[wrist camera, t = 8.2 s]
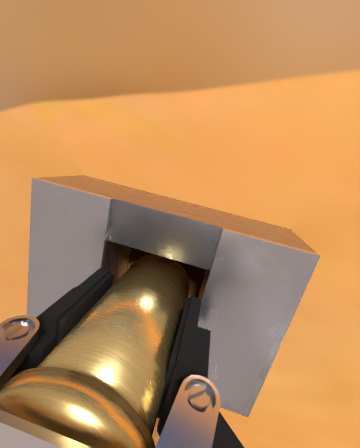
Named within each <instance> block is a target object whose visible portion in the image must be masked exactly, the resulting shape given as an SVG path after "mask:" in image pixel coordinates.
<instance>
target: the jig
mask: <svg viewBox="0 0 360 448" xmlns="http://www.w3.org/2000/svg"><path fill="white" fill-rule="evenodd" d="M131 247H132V248H135V249H139V250H142V251H145V252H149V253H152V254H156V255H159V256H162V257H166V258H169V259H173V260H176V261H180V262H183V263H186V264H190V265H193V266H197V267H200V268H203V269H206V270H205V273H204V277H203V280H202V284H201V287H200V291H199V294H198V297H197V298H199V299H202V301H201V308H200V314H199V321H198V327H201V328H204V329H207V330H210V331H211V336H210V351H209V367H208V380H210V381H211V382H212V383H213V384H214V385H215V387H216V388H217V390H218V392H219V396H220V407H222V408H224V409H227V410H230V411H233V412H235V413H238V414H241V415H244V416H246V417H248V416H249V414H250V412H251V410H252V407H253V405H254V403H255V401H256V398H257V396H258V394H259V392H260V390H261V387H262V385H263V383H264V381H265V378H266V376H267V374H268V372H269V369H270V367H271V365H272V363H273V360H274V358H275V356H276V354H277V351H278V349H279V347H280V345H281V343H282V340H283V338H284V336H285V334H286V331H287V329H288V327H289V325H290V322H291V320H292V318H293V316H294V313H295V311H296V309H297V307H298V304H299V302H300V300H301V298H302V295H303V293H304V291H305V289H306V287H307V284H308V282H309V280H310V278H311V275H312V273H313V271H314V269H315V266H316V264H317V262H318V260H319V257H320V255H318V254H317V253H316V252H315V251H314V250H313V249H312V248H311V247H309V246H308V245H307V244H306V243H305V242H304V241H303V240H301V239H300V238H299V237H298V236H297V235H296V234H295V233H293V232H292V231H291V230H290V229H286V228H282V227H279V226H275V225H271V224H267V223H263V222H259V221H256V220H252V219H248V218H244V217H240V216H236V215H233V214H229V213H225V212H221V211H217V210H213V209H210V208H206V207H202V206H198V205H194V204H191V203H187V202H183V201H179V200H175V199H171V198H168V197H164V196H160V195H156V194H152V193H148V192H145V191H141V190H137V189H133V188H129V187H125V186H122V185H118V184H114V183H110V182H106V181H102V180H99V179H95V178H91V177H87V176H63V177H44V178H32V192H31V218H30V245H29V272H28V298H27V316H32V317H35V318H36V317H37V316H39V315H40V314H41V313H42V312H44V311H45V310H46V309H47V308H49V307H50V306H51V305H52V304H54V303H55V302H56V301H57V300H58V299H60V298H61V297H62V296H63V295H65V294H66V293H67V292H68V291H70V290H71V289H72V288H74V287H77V286H78V285H80V284H81V283H82V282H83V281H85V280H86V279H87V278H88V277H89V276H91V275H92V274H93V273H94V272H96V271H97V270H98V269H99V268H103V269H106V270H109V271H111V274H113V283H112V286H113V285H114V284H115V282H116V281H117V280H118V279H119V278H120V277H121V276H122V275H123V274H124V273H125V272H126V271H127V268H128V263H129V257H130V251H131Z"/></svg>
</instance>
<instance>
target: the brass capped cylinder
mask: <svg viewBox="0 0 360 448" xmlns="http://www.w3.org/2000/svg"><path fill="white" fill-rule="evenodd" d="M189 290H190V284H189V279H188V276H187V274H186V272H185V270H184V269H183V267H182V266H181V265H180V264H179V263H178V262H176V261H175V260H173V259H169V258H166V257H162V256H159V255H156V254H149V255H145V256H143V257H140V258H139V259H137V260H136V261H135V262H134V263H133V264H132V265H131V266H130V267H129V268H128V270H127V271H126V272H125V273H124V274H123V275H122V276H121V277H120V278H119V279H118V280H117V281H116V282H115V284H114V285H113V286H112V287H111V288H110V289H109V290H108V291H107V292H106V293H105V294H104V295H103V296H102V298H101V299H100V300H99V301H98V302H97V303H96V304H95V305H94V306H93V307H92V308H91V309H90V310H89V312H88V313H87V314H86V315H85V316H84V317H83V318H82V319H81V320H80V321H79V322H78V323H77V324H76V326H75V327H74V328H73V329H72V330H71V331H70V332H69V333H68V334H67V335H66V336H65V337H64V338H63V340H62V341H61V342H60V343H59V344H58V345H57V346H56V347H55V348H54V349H53V350H52V351H51V352H50V353H49V355H48V356H47V357H46V358H45V359H44V360H43V361H42V362H41V363H40V364H39V365H38V366H37V367H36V368H30V369H27V370H24V371H22V372H20V373H18V374H16V375H15V376H13V377H12V378H11V379H10V380H9V381H8V382H7V383H6V384H5V385H4V386H3V387H2V388H1V389H0V410H2V411H4V412H7V413H9V414H12V415H14V416H16V417H19V418H21V419H24V420H26V421H29V422H31V423H33V424H36V425H38V426H41V427H43V428H46V429H48V430H50V431H53V432H55V433H58V434H60V435H63V436H65V437H67V438H70V439H72V440H75V441H77V442H79V443H82V444H84V445H87V446H89V447H91V448H155V444H154V441H153V438H152V434H153V430H154V426H155V422H156V419H157V415H158V411H159V407H160V403H161V399H162V395H163V391H164V386H165V377H166V373H167V369H168V366H169V362H170V358H171V355H172V351H173V347H174V343H175V340H176V336H177V332H178V328H179V325H180V321H181V317H182V313H183V310H184V306H185V303H186V299H187V298H188V295H189Z"/></svg>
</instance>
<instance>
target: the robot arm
mask: <svg viewBox="0 0 360 448" xmlns="http://www.w3.org/2000/svg"><path fill="white" fill-rule="evenodd" d="M112 283H113V274H111V271H109V270H106V269H103V268H99V269H98V270H97V271H96V272H94V273H93V274H92V275H91V276H89V277H88V278H87V279H86V280H85V281H83V282H82V283H81V284H80V285H78V286H77V287H74V288H72V289H71V290H70V291H68V292H67V293H66V294H65V295H63V296H62V297H61V298H60V299H58V300H57V301H56V302H55V303H54V304H52V305H51V306H50V307H49V308H47V309H46V310H45V311H44V312H42V313H41V314H40V315H39V316H37V317H36V318H35V317H32V316H26V315H22V316H16V317H12V318H9V319H7V320H5V321H3V322H2V323H1V324H0V389H1V388H2V387H3V386H4V385H5V384H6V383H7V382H8V381H9V380H10V379H11V378H12V377H13V376H15V375H16V374H18V373H20V372H22V371H24V370H27V369H30V368H36V367H37V366H38V365H39V364H40V363H41V362H42V361H43V360H44V359H45V358H46V357H47V356H48V355H49V353H50V352H51V351H52V350H53V349H54V348H55V347H56V346H57V345H58V344H59V343H60V342H61V341H62V340H63V338H64V337H65V336H66V335H67V334H68V333H69V332H70V331H71V330H72V329H73V328H74V327H75V326H76V324H77V323H78V322H79V321H80V320H81V319H82V318H83V317H84V316H85V315H86V314H87V313H88V312H89V310H90V309H91V308H92V307H93V306H94V305H95V304H96V303H97V302H98V301H99V300H100V299H101V298H102V296H103V295H104V294H105V293H106V292H107V291H108V290H109V289H110V288H111V287H112ZM201 301H202V299H199V298H196V297H193V296H191V299H190V298H187V299H186V303H185V306H184V310H183V313H182V317H181V321H180V325H179V328H178V332H177V336H176V340H175V343H174V347H173V351H172V355H171V358H170V362H169V366H168V369H167V373H166V377H165V386H164V391H163V395H162V399H161V403H160V407H159V411H158V415H157V418H160V419H159V423H158V427H157V429H158V430H157V432H158V434H159V436H160V438H159V440H158V442H157V445H156V447H155V448H244V447H243V445H242V444H241V442H240V441H239V440H238V438H237V437H236V435H235V434H234V432H233V431H232V429H231V428H230V426H229V425H228V424H227V422H226V421H225V419H224V418H223V416H222V415H221V413H220V412H219V409H220V396H219V392H218V390H217V388H216V387H215V385H214V384H213V383H212V382H211V381H210V380H208V367H209V351H210V336H211V331H210V330H207V329H204V328H201V327H198V321H199V314H200V308H201ZM0 448H91V447H89V446H87V445H84V444H82V443H79V442H77V441H75V440H72V439H70V438H67V437H65V436H63V435H60V434H58V433H55V432H53V431H50V430H48V429H46V428H43V427H41V426H38V425H36V424H33V423H31V422H29V421H26V420H24V419H21V418H19V417H16V416H14V415H12V414H9V413H7V412H4V411H2V410H0Z"/></svg>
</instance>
